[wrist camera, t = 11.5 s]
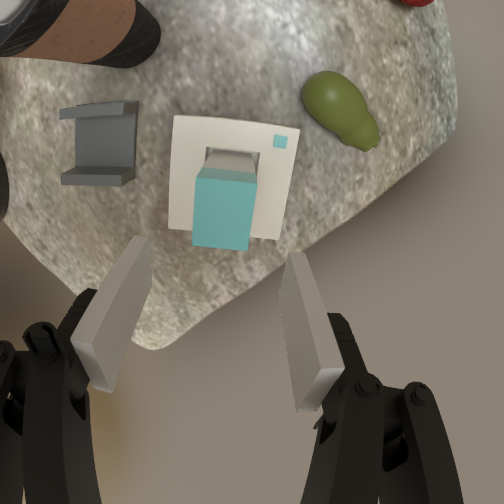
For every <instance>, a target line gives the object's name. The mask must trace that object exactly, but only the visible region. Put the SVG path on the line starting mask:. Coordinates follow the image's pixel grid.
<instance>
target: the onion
mask: <svg viewBox="0 0 504 504" xmlns="http://www.w3.org/2000/svg"><path fill="white" fill-rule="evenodd" d="M400 1H402V2H404V3H406V4H408V5H411V6H417V7H422V6H426V5H428V4H430V3H432V2H433V1H434V0H400Z"/></svg>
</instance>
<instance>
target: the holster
mask: <svg viewBox="0 0 504 504" xmlns="http://www.w3.org/2000/svg"><path fill="white" fill-rule="evenodd" d="M138 103H139V101H119V102H104V103H93V104H83V105H77V106H76V107H71V108H64V109H60V120H62V119H71V118H76V132H75V150H76V167H74V168H72V169H70V170H68V171H66V172H65V173H63V174H61V185H94V186H119V187H122V186H123V185H124V184H125V183H127V182H128V181H129V180H131V179H134V178H135V151H136V129H137V115H138Z"/></svg>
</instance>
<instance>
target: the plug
mask: <svg viewBox="0 0 504 504" xmlns="http://www.w3.org/2000/svg"><path fill="white" fill-rule="evenodd" d="M257 185H258V183H257V178H256V173H255V168H254V163H253V158H252V153H245V152H237V151H228V150H218V149H213V151H212V152H211V154H210V156H209V157H208V159H207V160H206V162H205V163H204V165H203V167H202V168H201V170H200V171H199V173H198V175H197V176H196V182H195V195H194V211H193V230H192V246H202V247H211V248H221V249H231V250H240V251H248V244H249V237H250V231H251V224H252V218H253V211H254V205H255V198H256V192H257Z"/></svg>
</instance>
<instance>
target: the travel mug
mask: <svg viewBox="0 0 504 504" xmlns="http://www.w3.org/2000/svg"><path fill="white" fill-rule="evenodd" d="M160 33H161V31H160V26H159V24H158V22H157V20H156V19H155V18H154V17H153V16H152V15H151V13H150V12H149V11H148V10H147V9H146V8H145V7H144V6H143V5H142V4H141V3H140V2H139V1H138V0H0V57H22V58H38V59H49V60H58V61H66V62H73V63H81V64H92V65H101V66H109V67H116V68H129V67H133V66H135V65H138V64H140V63H141V62H143V61H145V60H146V59H147V58H148V57H149V56H150V55H151V54H152V53H153V52H154V50H155V49H156V47H157V45H158V43H159V40H160Z"/></svg>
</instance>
